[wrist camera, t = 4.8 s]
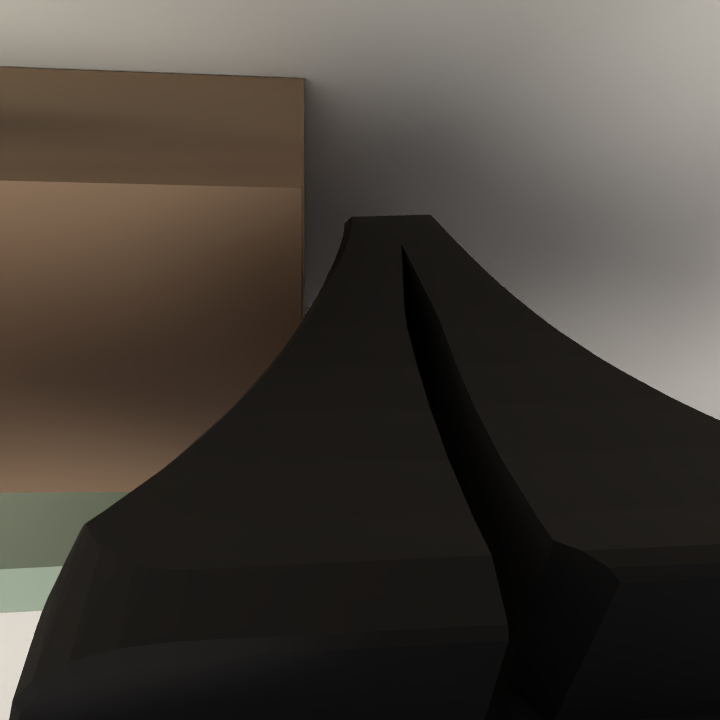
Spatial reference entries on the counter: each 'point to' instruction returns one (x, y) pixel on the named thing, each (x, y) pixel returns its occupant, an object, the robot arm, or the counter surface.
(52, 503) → the green and grey bars
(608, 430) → the robot arm
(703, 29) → the counter surface
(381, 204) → the counter surface
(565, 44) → the counter surface
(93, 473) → the walnut block
